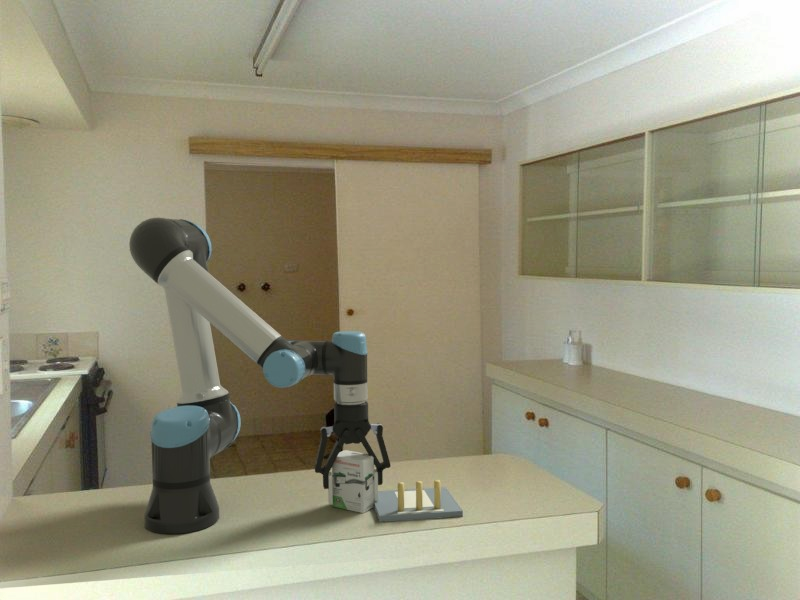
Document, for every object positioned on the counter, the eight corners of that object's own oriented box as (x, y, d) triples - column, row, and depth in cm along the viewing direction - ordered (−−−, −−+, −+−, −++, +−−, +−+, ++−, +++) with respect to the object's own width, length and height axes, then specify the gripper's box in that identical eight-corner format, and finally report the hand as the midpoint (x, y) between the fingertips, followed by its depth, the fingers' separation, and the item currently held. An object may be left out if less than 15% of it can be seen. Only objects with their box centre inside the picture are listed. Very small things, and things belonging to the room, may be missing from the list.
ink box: (330, 507, 160) (330, 454, 159) (343, 500, 164) (342, 449, 163) (363, 513, 156) (363, 460, 155) (375, 506, 160) (375, 454, 159)
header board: (379, 521, 151) (379, 488, 150) (370, 496, 167) (369, 466, 166) (462, 516, 154) (462, 483, 153) (445, 492, 170) (445, 462, 169)
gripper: (301, 407, 153) (304, 510, 154) (403, 402, 156) (405, 502, 158) (300, 400, 160) (302, 498, 162) (397, 395, 164) (399, 491, 165)
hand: (353, 500), depth 160 cm, fingers closed on ink box, 9 cm apart
